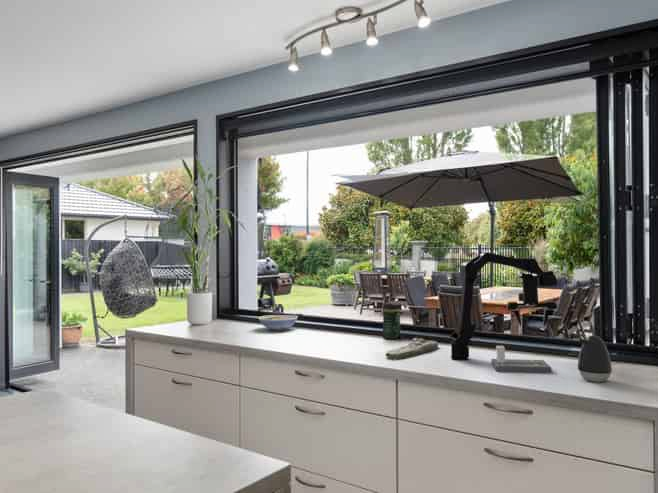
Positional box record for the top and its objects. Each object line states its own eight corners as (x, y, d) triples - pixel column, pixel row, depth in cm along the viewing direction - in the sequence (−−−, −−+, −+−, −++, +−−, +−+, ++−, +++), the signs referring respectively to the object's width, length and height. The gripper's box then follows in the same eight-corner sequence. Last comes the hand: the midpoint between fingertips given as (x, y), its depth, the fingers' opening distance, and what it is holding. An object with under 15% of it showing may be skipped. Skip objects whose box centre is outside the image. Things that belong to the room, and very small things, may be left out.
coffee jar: (394, 340, 250) (393, 302, 250) (380, 338, 255) (379, 302, 255) (403, 337, 258) (402, 301, 258) (390, 335, 263) (389, 300, 263)
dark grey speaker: (571, 377, 174) (570, 333, 175) (599, 376, 175) (598, 332, 175) (588, 385, 164) (587, 338, 164) (618, 383, 165) (618, 337, 165)
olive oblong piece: (379, 361, 211) (399, 366, 204) (379, 349, 211) (399, 353, 204) (424, 344, 236) (443, 348, 230) (424, 333, 236) (443, 336, 229)
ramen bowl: (251, 332, 280) (250, 318, 280) (263, 326, 302) (263, 312, 302) (295, 333, 275) (294, 318, 276) (303, 326, 298) (303, 313, 298)
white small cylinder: (497, 362, 188) (497, 347, 188) (496, 360, 192) (496, 345, 192) (505, 363, 187) (504, 347, 187) (503, 360, 191) (503, 345, 191)
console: (496, 371, 184) (496, 365, 184) (491, 364, 196) (491, 358, 196) (551, 372, 181) (551, 366, 181) (543, 365, 193) (543, 359, 193)
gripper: (551, 286, 214) (554, 322, 214) (505, 287, 219) (507, 323, 219) (555, 288, 203) (557, 327, 203) (506, 290, 208) (509, 327, 208)
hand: (532, 326), depth 209 cm, fingers open, 9 cm apart
